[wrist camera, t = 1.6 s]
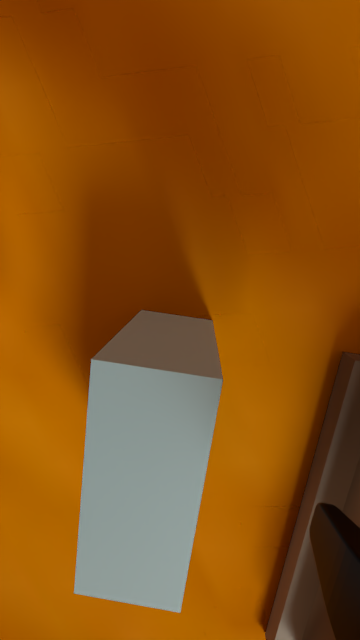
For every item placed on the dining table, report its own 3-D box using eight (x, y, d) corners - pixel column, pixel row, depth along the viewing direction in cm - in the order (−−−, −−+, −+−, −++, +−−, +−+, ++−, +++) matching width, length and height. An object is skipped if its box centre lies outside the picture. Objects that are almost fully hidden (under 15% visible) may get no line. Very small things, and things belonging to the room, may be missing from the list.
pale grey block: (212, 320, 13) (222, 379, 7) (188, 463, 14) (180, 612, 8) (141, 309, 13) (91, 358, 7) (125, 453, 14) (74, 593, 8)
